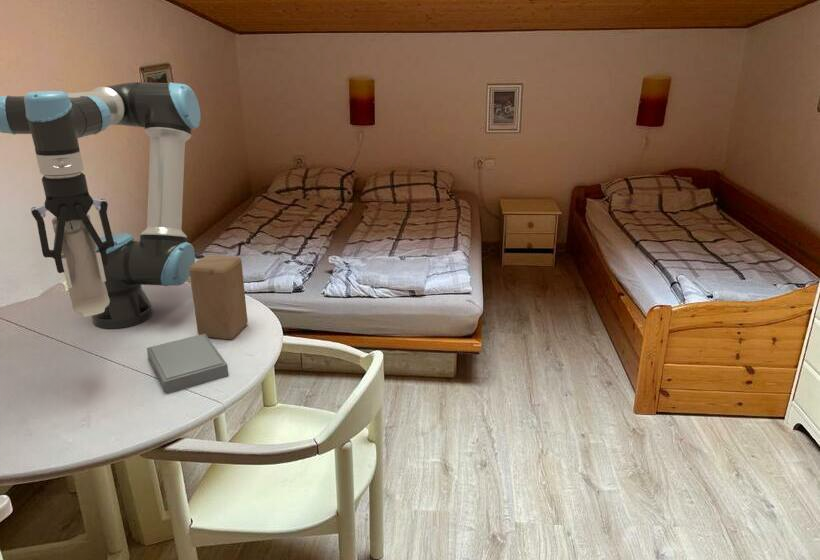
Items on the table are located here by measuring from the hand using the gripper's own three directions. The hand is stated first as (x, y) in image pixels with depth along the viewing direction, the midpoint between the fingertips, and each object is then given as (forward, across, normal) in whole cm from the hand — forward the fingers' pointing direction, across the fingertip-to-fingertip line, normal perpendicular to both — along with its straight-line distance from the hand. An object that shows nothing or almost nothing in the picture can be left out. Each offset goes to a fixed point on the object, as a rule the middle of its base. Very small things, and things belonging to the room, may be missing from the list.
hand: (86, 282), depth 124 cm
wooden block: (+25, +30, +11) cm, 40 cm away
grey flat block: (+25, +17, -3) cm, 30 cm away
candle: (+5, 0, 0) cm, 5 cm away
